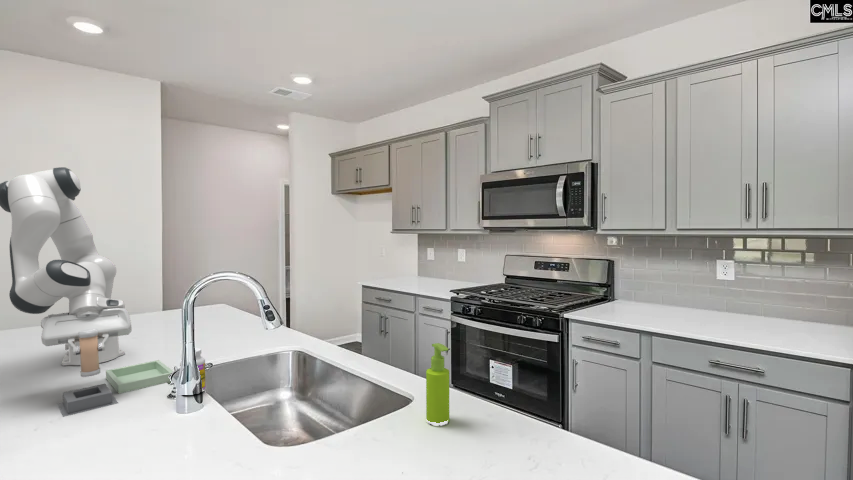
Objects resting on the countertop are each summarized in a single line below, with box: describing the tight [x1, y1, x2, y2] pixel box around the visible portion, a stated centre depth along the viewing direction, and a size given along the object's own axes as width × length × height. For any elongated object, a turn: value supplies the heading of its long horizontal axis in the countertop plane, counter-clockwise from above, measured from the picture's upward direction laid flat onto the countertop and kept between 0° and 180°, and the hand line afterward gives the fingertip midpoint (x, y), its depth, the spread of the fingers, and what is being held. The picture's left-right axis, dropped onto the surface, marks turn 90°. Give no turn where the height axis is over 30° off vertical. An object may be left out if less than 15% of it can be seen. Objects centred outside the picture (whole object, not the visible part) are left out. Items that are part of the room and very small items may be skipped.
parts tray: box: [105, 359, 174, 394], centre depth 141 cm, size 18×15×4 cm
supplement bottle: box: [179, 347, 207, 392], centre depth 132 cm, size 7×7×13 cm
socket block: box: [56, 383, 119, 418], centre depth 123 cm, size 12×12×4 cm
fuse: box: [78, 329, 101, 378], centre depth 122 cm, size 4×4×12 cm
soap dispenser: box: [425, 342, 450, 423], centre depth 112 cm, size 6×7×20 cm
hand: (89, 351), depth 122 cm, fingers closed on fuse, 4 cm apart
